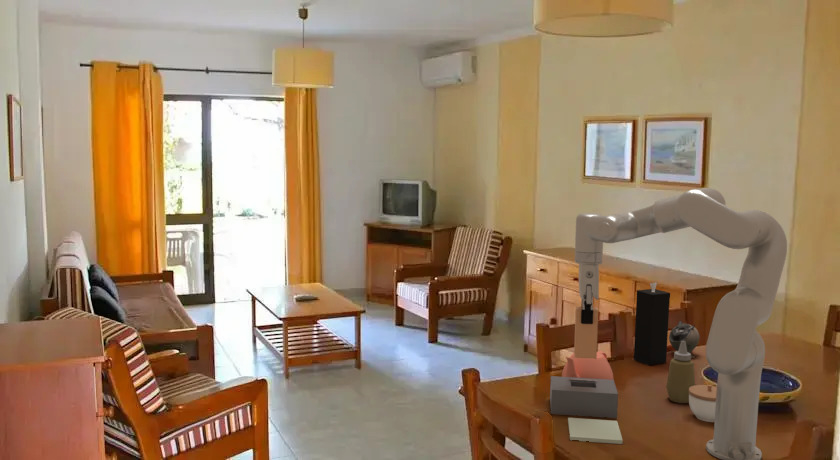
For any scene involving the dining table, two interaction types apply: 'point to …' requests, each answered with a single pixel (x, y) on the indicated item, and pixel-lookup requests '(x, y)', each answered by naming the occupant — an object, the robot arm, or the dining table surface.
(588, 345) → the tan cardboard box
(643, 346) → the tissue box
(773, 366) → the dining table surface
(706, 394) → the lidded jar
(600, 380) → the dispenser
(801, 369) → the dining table surface
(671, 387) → the squeeze bottle
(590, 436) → the mat
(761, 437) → the dining table surface
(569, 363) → the teapot
